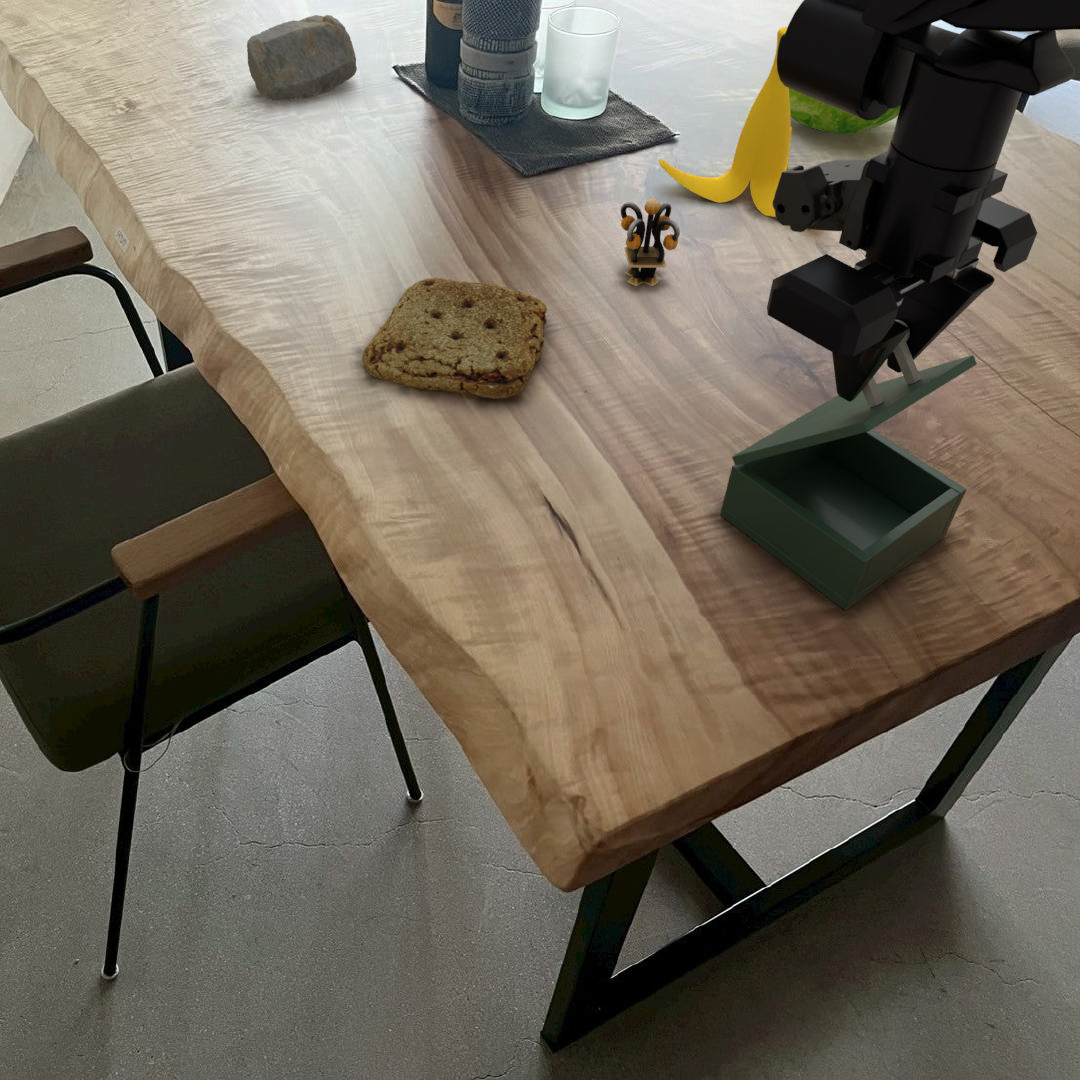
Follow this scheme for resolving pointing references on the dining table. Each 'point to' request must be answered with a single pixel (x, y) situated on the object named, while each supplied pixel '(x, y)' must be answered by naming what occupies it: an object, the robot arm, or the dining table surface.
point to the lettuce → (832, 116)
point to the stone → (301, 58)
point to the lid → (858, 407)
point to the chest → (843, 511)
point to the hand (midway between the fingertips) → (870, 383)
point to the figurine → (647, 240)
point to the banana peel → (752, 150)
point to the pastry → (459, 339)
